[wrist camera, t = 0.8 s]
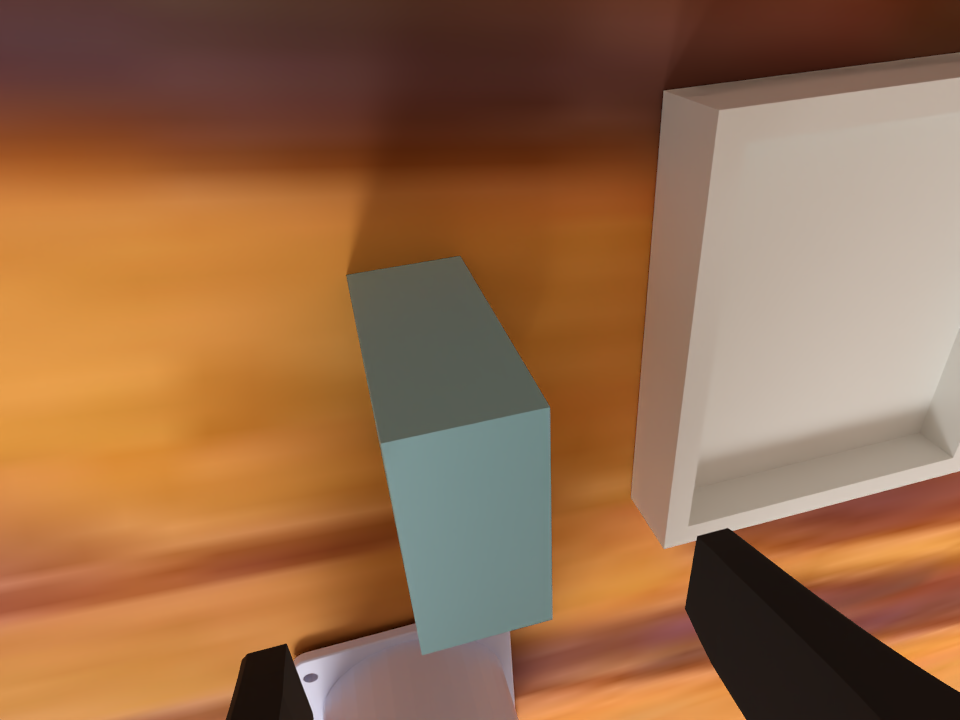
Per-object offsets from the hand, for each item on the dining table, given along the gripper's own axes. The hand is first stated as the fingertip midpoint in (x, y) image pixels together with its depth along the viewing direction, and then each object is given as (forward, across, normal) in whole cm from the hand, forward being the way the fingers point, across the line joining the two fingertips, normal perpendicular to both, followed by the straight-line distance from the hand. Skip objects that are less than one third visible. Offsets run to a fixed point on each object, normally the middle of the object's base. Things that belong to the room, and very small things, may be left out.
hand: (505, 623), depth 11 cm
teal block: (+9, 0, 0) cm, 9 cm away
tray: (+9, -13, 0) cm, 16 cm away
